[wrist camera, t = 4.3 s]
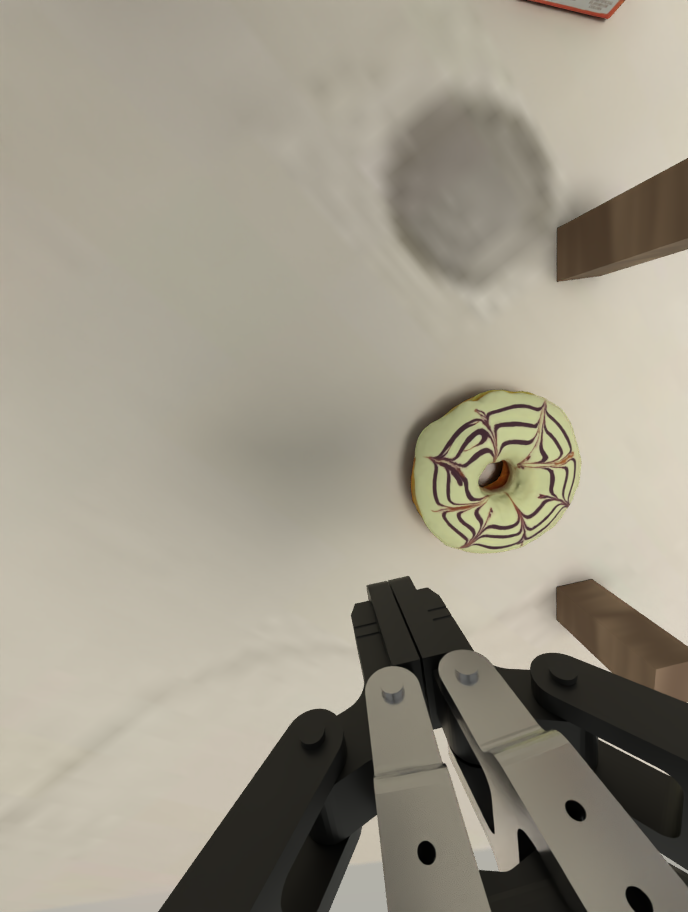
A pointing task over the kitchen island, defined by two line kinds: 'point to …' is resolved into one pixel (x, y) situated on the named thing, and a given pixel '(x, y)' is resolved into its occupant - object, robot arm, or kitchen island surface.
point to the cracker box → (587, 6)
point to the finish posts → (595, 254)
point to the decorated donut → (520, 483)
